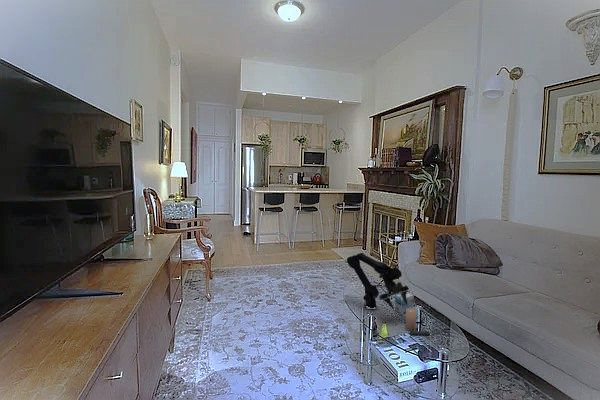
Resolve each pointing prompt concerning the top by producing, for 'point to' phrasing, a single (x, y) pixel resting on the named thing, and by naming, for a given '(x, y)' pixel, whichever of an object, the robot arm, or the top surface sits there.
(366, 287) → the robot arm
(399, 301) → the light bulb box
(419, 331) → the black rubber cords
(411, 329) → the terracotta jar
